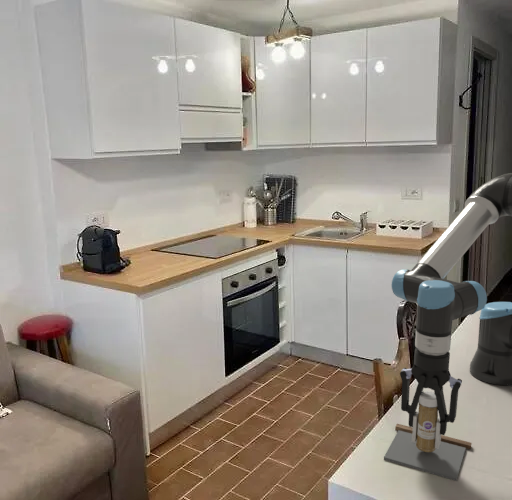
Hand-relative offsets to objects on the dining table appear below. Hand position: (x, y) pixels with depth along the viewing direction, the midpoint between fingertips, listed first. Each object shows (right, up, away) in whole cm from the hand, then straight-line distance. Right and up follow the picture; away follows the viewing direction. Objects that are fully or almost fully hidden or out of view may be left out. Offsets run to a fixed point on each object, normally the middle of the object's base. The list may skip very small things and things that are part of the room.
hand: (426, 442), depth 123 cm
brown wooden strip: (+4, -2, +7) cm, 9 cm away
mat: (0, -3, +1) cm, 3 cm away
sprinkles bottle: (0, -2, 0) cm, 2 cm away
